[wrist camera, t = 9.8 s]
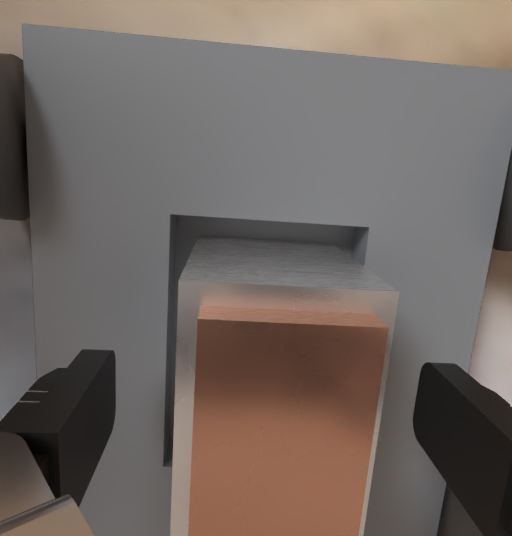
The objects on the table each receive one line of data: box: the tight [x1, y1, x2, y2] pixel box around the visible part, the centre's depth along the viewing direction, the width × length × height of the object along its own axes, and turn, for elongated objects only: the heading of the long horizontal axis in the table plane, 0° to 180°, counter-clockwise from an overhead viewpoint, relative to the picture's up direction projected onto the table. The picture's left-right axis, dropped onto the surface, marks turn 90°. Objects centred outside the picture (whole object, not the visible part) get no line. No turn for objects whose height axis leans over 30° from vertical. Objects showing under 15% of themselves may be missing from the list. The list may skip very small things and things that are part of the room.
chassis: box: [0, 24, 512, 536], centre depth 14 cm, size 18×18×4 cm
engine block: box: [170, 236, 399, 536], centre depth 12 cm, size 7×4×7 cm, turn 176°
